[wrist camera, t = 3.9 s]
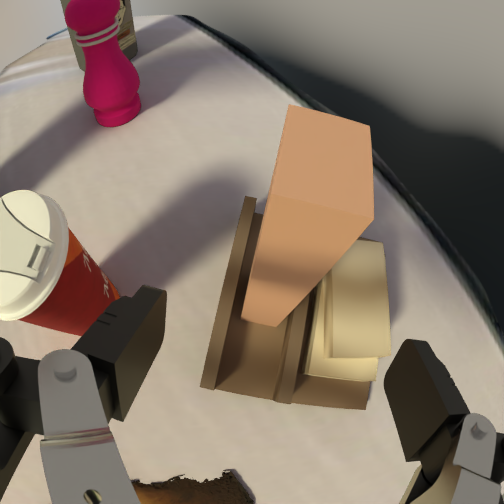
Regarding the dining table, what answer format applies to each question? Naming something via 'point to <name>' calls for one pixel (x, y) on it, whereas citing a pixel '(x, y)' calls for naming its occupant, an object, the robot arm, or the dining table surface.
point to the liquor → (123, 36)
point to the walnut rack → (267, 341)
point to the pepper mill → (104, 61)
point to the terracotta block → (309, 210)
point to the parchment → (193, 491)
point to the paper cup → (47, 268)
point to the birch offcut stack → (350, 317)
